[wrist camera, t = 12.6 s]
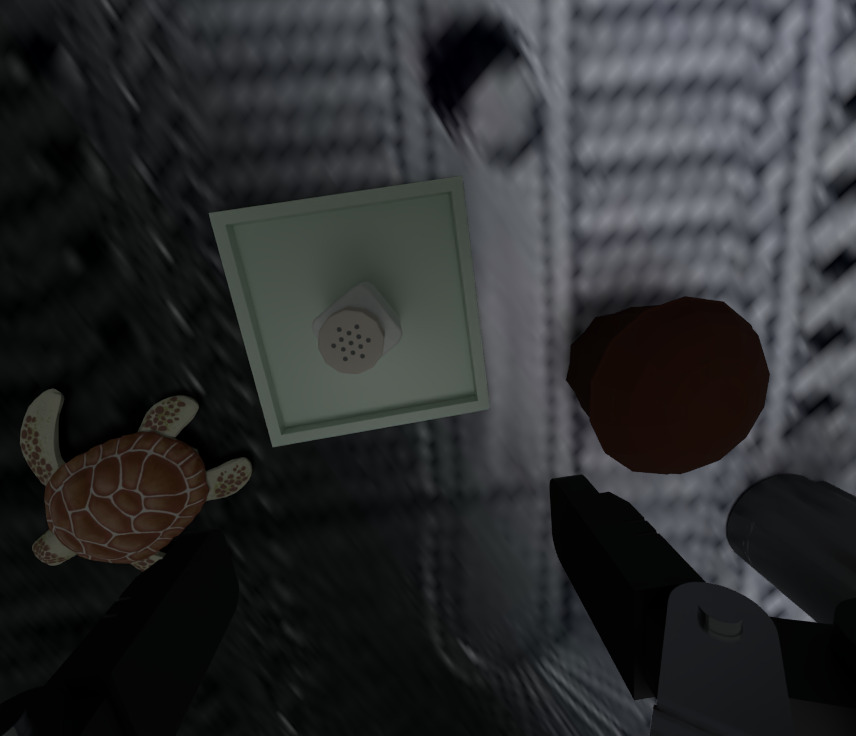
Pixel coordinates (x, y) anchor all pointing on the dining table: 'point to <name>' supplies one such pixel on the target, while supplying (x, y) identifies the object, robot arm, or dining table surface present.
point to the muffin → (670, 383)
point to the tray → (333, 277)
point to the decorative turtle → (122, 485)
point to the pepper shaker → (357, 330)
